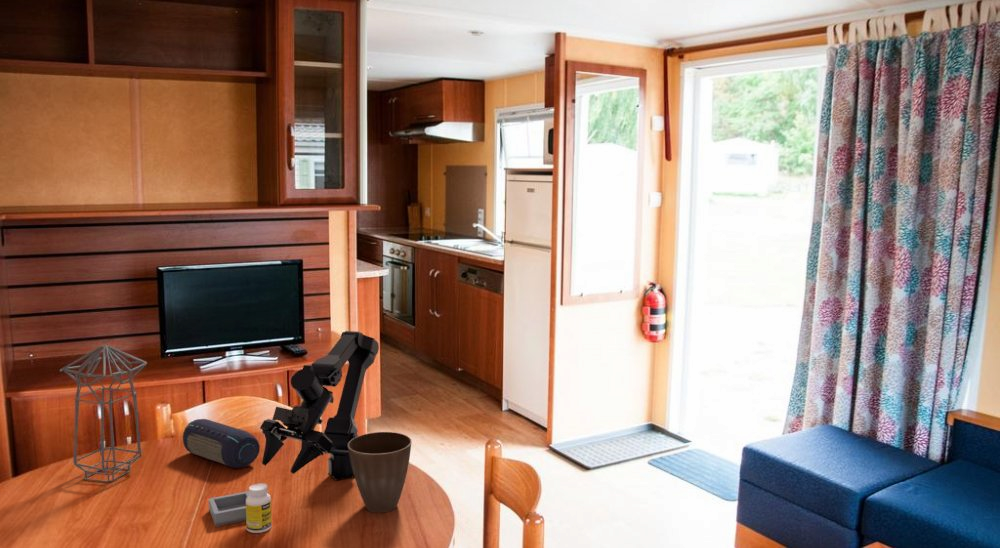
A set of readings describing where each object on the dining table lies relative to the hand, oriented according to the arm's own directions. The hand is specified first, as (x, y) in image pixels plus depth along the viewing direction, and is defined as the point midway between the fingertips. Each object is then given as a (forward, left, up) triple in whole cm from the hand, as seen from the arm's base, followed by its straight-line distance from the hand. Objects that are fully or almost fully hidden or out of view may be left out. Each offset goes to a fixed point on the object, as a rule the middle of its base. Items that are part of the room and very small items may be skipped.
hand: (277, 468), depth 178 cm
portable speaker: (+6, -44, -12) cm, 46 cm away
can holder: (+9, -7, -12) cm, 17 cm away
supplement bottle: (+5, +3, -12) cm, 14 cm away
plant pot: (-23, +5, -12) cm, 26 cm away
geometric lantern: (+33, -46, -12) cm, 58 cm away
